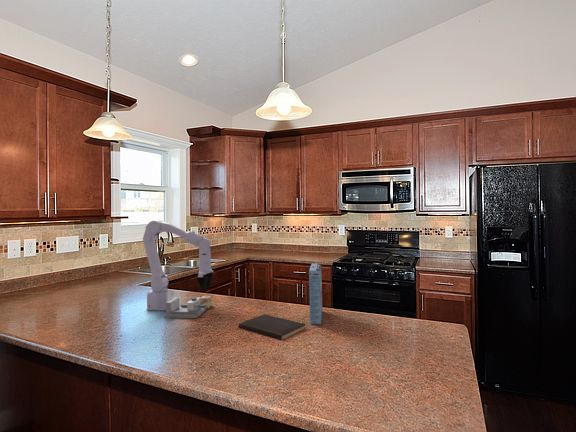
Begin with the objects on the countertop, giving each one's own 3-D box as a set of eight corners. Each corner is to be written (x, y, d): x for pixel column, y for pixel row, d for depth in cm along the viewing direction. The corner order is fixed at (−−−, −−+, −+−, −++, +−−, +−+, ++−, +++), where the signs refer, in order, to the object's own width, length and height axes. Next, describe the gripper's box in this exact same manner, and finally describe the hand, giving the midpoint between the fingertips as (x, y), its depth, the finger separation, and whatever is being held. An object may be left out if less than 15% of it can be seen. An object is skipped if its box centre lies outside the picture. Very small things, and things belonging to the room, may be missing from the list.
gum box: (321, 324, 147) (320, 270, 146) (308, 324, 147) (308, 270, 147) (322, 311, 166) (322, 263, 165) (311, 310, 167) (311, 263, 166)
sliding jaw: (187, 312, 160) (187, 300, 160) (194, 307, 169) (194, 295, 169) (193, 313, 160) (193, 300, 159) (200, 307, 168) (200, 295, 168)
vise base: (165, 317, 159) (164, 303, 159) (176, 309, 171) (175, 296, 171) (196, 318, 158) (196, 303, 158) (205, 310, 170) (205, 297, 170)
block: (200, 308, 174) (200, 298, 174) (203, 305, 179) (203, 295, 179) (208, 308, 173) (207, 298, 173) (211, 305, 178) (211, 295, 178)
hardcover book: (264, 319, 157) (264, 314, 157) (306, 329, 143) (306, 324, 143) (238, 329, 144) (238, 323, 144) (281, 341, 130) (281, 335, 130)
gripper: (208, 264, 168) (208, 292, 168) (217, 259, 182) (217, 285, 183) (193, 264, 169) (194, 292, 169) (204, 259, 183) (204, 285, 183)
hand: (205, 288), depth 176 cm, fingers open, 7 cm apart
